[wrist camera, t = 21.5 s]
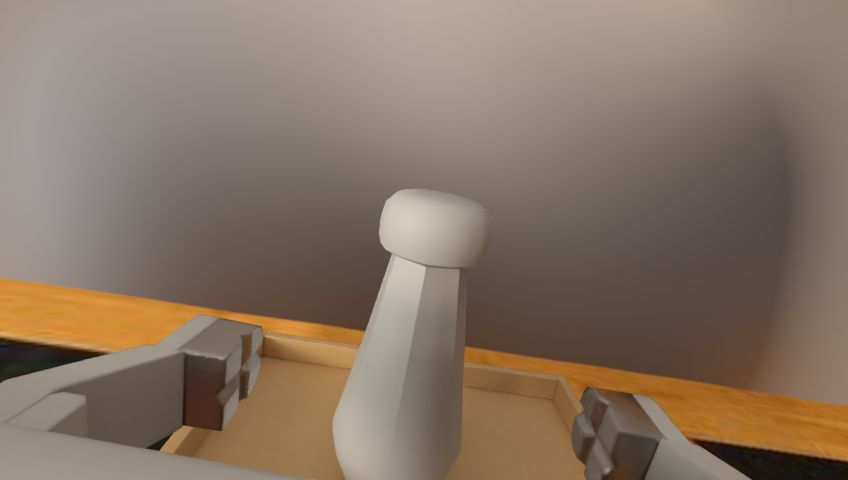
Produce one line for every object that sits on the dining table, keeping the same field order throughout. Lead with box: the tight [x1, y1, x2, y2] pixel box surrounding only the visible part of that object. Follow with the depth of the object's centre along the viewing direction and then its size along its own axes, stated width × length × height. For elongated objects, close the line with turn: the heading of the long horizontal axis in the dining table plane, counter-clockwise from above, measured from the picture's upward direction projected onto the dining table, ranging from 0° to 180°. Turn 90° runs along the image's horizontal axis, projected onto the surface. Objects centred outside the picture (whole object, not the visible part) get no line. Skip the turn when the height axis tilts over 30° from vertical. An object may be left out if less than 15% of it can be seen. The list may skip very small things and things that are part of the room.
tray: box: [160, 331, 586, 480], centre depth 19 cm, size 20×14×2 cm
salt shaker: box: [332, 189, 492, 480], centre depth 16 cm, size 6×6×13 cm
